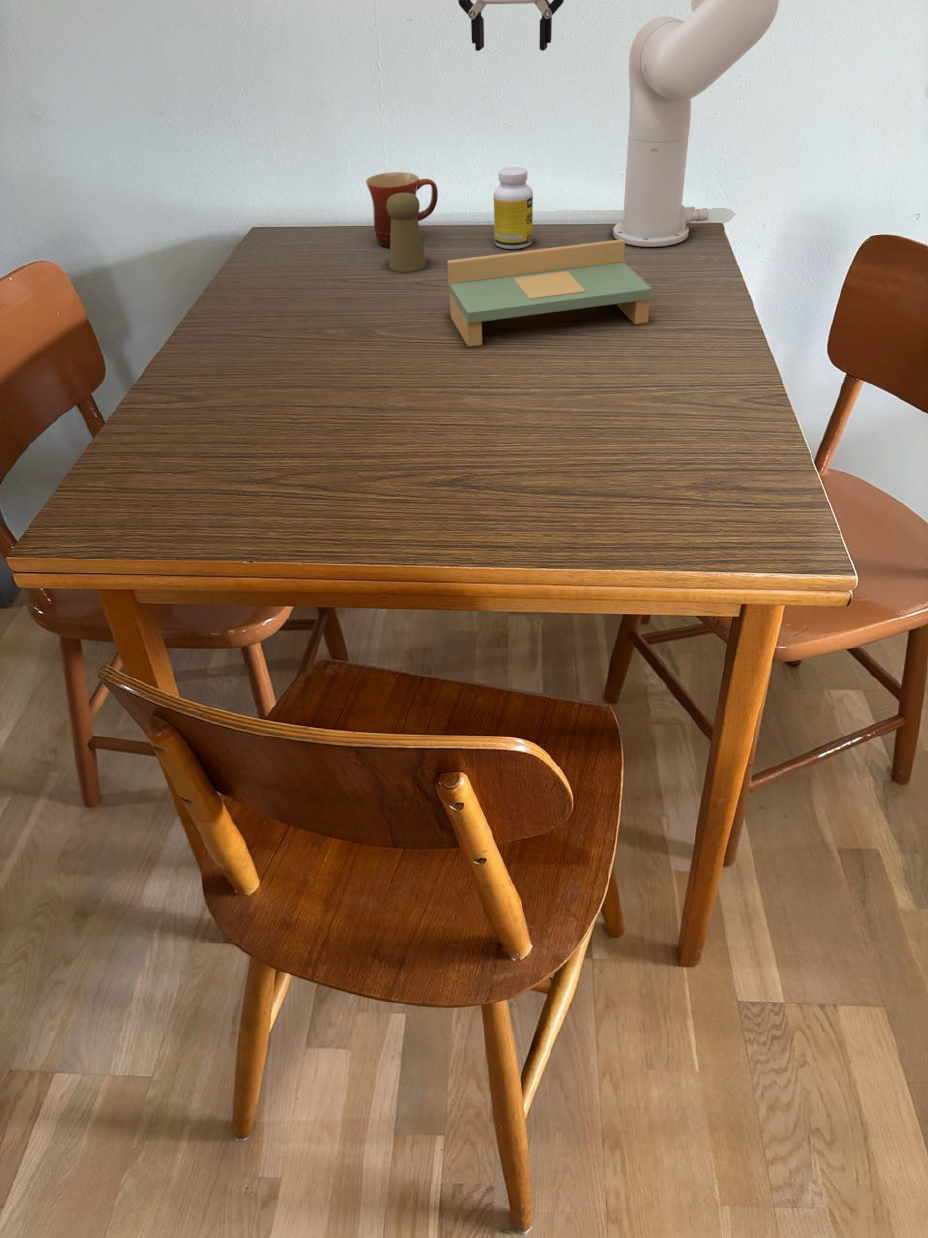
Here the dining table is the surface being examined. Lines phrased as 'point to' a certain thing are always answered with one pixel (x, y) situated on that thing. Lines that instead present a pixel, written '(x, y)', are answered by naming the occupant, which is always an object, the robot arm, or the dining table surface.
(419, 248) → the pepper shaker
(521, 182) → the pill bottle
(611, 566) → the dining table surface
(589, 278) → the shelf
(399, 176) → the mug
